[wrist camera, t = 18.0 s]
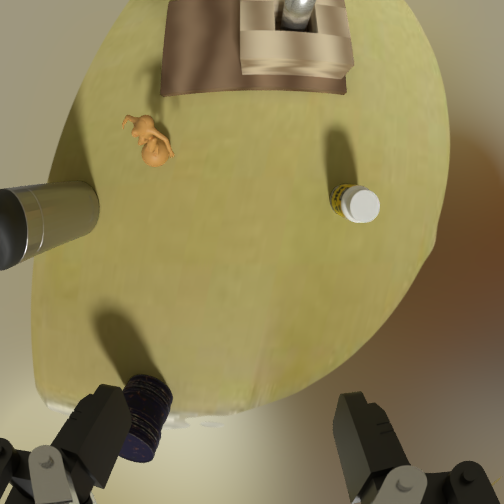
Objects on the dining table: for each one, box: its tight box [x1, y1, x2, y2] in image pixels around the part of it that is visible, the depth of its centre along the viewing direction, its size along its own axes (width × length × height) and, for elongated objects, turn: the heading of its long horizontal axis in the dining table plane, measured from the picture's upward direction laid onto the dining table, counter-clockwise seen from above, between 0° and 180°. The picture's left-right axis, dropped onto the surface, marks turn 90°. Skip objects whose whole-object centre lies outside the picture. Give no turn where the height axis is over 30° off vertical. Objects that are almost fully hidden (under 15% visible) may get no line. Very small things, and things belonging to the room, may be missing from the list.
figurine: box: [122, 115, 174, 167], centre depth 32 cm, size 8×6×12 cm
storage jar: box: [118, 375, 173, 463], centre depth 42 cm, size 10×10×15 cm
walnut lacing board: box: [160, 0, 347, 97], centre depth 33 cm, size 26×18×2 cm
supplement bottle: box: [330, 184, 380, 223], centre depth 36 cm, size 5×5×8 cm
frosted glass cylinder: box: [280, 0, 316, 32], centre depth 26 cm, size 3×3×13 cm
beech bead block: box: [240, 0, 354, 79], centre depth 29 cm, size 14×14×6 cm
